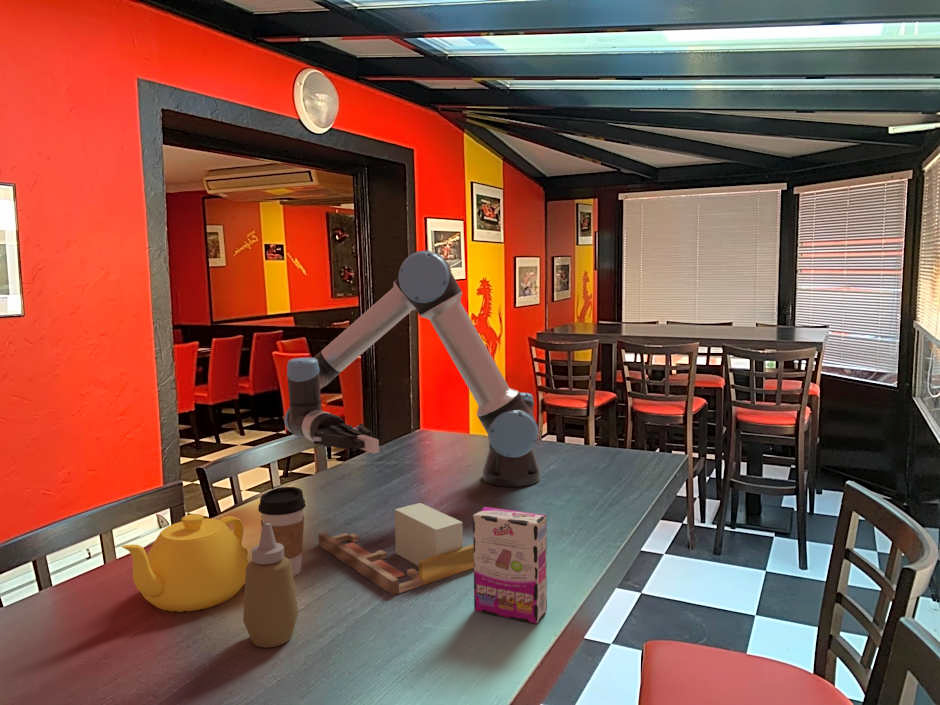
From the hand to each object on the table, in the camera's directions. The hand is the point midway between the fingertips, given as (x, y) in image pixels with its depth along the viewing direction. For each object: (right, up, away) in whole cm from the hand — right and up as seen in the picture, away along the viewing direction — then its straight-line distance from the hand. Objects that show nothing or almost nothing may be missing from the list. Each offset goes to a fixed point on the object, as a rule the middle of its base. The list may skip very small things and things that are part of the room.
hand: (375, 446), depth 147 cm
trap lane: (+5, -20, -8) cm, 22 cm away
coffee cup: (-15, -21, -16) cm, 30 cm away
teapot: (-29, -23, -24) cm, 44 cm away
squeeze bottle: (-11, -24, -39) cm, 47 cm away
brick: (+12, -20, -11) cm, 26 cm away
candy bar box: (+26, -23, -32) cm, 47 cm away
